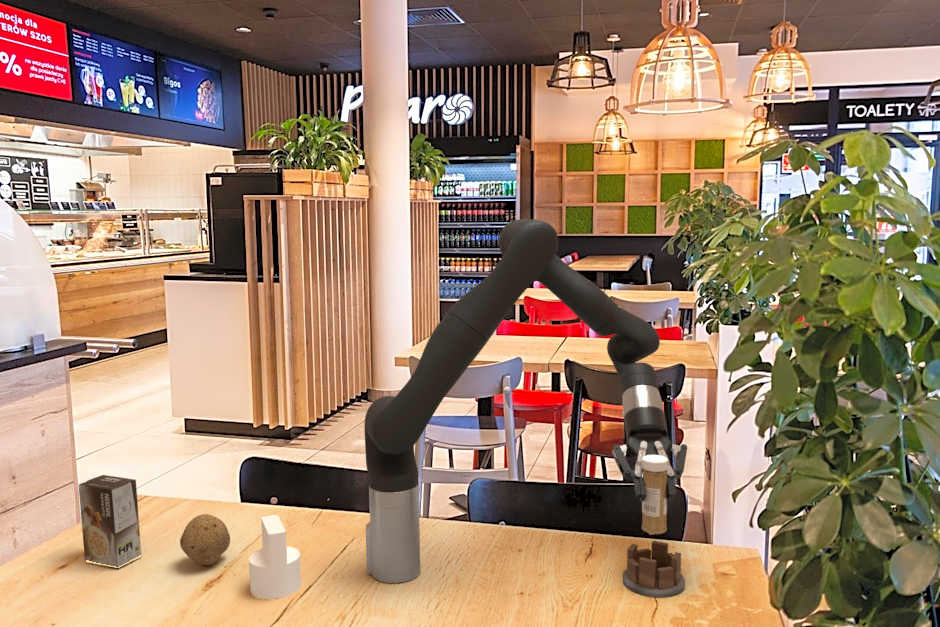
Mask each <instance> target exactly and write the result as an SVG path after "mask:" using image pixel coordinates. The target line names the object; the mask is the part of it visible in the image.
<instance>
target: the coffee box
mask: <svg viewBox="0 0 940 627" xmlns="http://www.w3.org/2000/svg"><path fill="white" fill-rule="evenodd" d="M137 489H138V488H137V479H134V478H128V477H126V478H125V477H121V476H120V477H119V476H113V475H107V474H106V475H105V474H102V475H99V476H96V477H93V478H91V479H88V480H87V481H85V482H81V483H80V484H79V483H78V495H79V504H80V505H79V506H80V517H81V529H82V541H83V542H82V543H83V553H84V561H85V560H89V561H92V562H96V563H101V564H106V565H111V566H116V567H119V566H121V565H123V564H125V563H127V562H129V561H130V560H132V559H134V558H136V557H138V556H139V555H141V556H142V547H141V534H140V531H141V530H140V520H139V519H140V518H139V507H138V506H139V505H138V504H139V503H138V491H137Z"/></svg>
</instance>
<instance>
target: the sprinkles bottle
mask: <svg viewBox="0 0 940 627" xmlns="http://www.w3.org/2000/svg"><path fill="white" fill-rule="evenodd" d="M668 459H669V458H668ZM668 459H667V458H666V457H664V456H661V455H646V456H644V457H643V458H642V468H643V469H642V477H643V480H644V487H645V493H646V498H645V501H641V512H642V513H641V514H642V516H641V517H642V518H641V520H642V521H641V530H642V531H643V532H645V533H646V534H647V533H648V534H651V535H661V534H664V533H666V532H667V530H668V527H667V513H668V500H667V469H668Z"/></svg>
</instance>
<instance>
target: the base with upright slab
mask: <svg viewBox="0 0 940 627" xmlns="http://www.w3.org/2000/svg"><path fill="white" fill-rule="evenodd" d="M260 521H261V538H262V539H261V542H262V548H261V549H258V550H256V551H254V552H253V553H252V554H250V556H249V558H248V569H249V585H250V587H249V588H250V594H251V593H252V594H253V595H255V596H256V597H259V598H264V599H275V600H277V599H276V598H281V599H283V598H282V597H285V598H287V597H286V596H288V597H290V596H289V595H291V594H293V593H295V592H296V591H297V590H298V589H299V588H300V587H301V588H302V570H301V567H302V566H301V553H300V550H299V549H297V548H295V547H293V546H288V545H287V530H286V529H285V527H284V524H283V522H282V521H281V519H280V517H279V515H278V514H273V515H266V516H262V517H261V518H260ZM301 588H300V589H301ZM300 589H299V590H300ZM299 590H298V591H299ZM296 593H297V592H296ZM296 593H295V594H296ZM252 594H251V595H252ZM253 595H252V596H253ZM293 595H294V594H293ZM291 596H292V595H291ZM256 597H255V598H256ZM259 598H258V599H259ZM264 599H263V600H264Z"/></svg>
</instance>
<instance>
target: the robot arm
mask: <svg viewBox="0 0 940 627" xmlns="http://www.w3.org/2000/svg"><path fill="white" fill-rule="evenodd" d="M498 247H499V251H500V254H501V255H502V256H501V258H500V259H499V261H498V262H497V264H496V265H495V267H494V268H493V269H492V270H491V272H489V274H488V275H487V276H486V277H485V278H483V279H482V280H481V281H480V282H479V283H478V284H476V285H475V286H474V287H473V288H472V289H470V290H469V291H467V292H466V293H465V294H464V295H463V296H461V297H460V298H459V299H458V300H457V301H456V302H455V303H454V304H453V305H452V306H451V307H450V308H449V310H448V311H447V313H446V314H445V315H444V316H443V317H442V319H441V320H440V322H439V323H438V324H437V326H436V327H435V328H434V330H433V331H432V332H431V335H430V336H429V338H428V340H427V342H426V345H425V347H424V349H423V352H422V354H421V357H420V358H419V361H418V364H417V366H416V368H415V370H414V372H413V373H412V375H411V377H410V378H409V380H408V381H407V382H406V383H405V385H404V386H403V387H402V388H401V389H400V390H399V392H398V393H397V394H396V396H393V395H387V396H386V395H385V396H382V397H379V398H377V399H376V400H375V401H373V402H372V403H371V404H370V406H369V407H368V408H367V411H366V413H365V418H364V444H365V445H364V448H365V449H364V450H365V464H366V471H367V477H368V499H369V500H368V501H369V502H368V503H369V504H368V505H369V522H367V523H366V525H365V548H366V549H365V551H366V554H365V555H366V556H365V557H366V574H368V575H371V577H372V578H373V579H375V580H376V581H378V582H381V583H382V582H383V583H388V584H399V583H404V582H408V581H411V580H413V579H415V578H417V577H418V576H419V575H420V574H421V536H420V533H421V532H420V531H421V530H420V527H421V526H420V491H419V489H420V488H419V487H420V485H419V470H418V465H417V460H416V457H415V456H416V455H415V444H416V443H417V442H418V440H419V439H420V438H421V436H422V435H423V432H424V431H425V429H426V428H427V427H428V425H429V423H430V422H431V419H432V417H433V416H434V414H435V413H436V411H437V409H438V407H440V405H441V403H442V401H443V400H444V399H445V397H446V396H447V394H448V393H449V391H451V390H452V389H453V387H454V386H455V385H456V383H457V382H458V380H460V378H461V377H462V375H463V374H464V373H465V372H466V370H467V369H468V368H469V366H470V365H471V364H472V362H473V361H474V360H475V359H476V358H477V356H478V355H479V354H480V352H481V351H482V350H483V349H484V347H485V346H486V344H487V343H488V342H489V340H490V339H491V337H492V336H493V335H494V333H495V332H496V330H497V329H498V327H499V326H500V325H501V323H502V322H503V321H504V319H505V318H506V316H508V314H509V312H510V311H511V310H512V308H513V306H514V305H515V304H516V303H517V301H518V300H519V299H520V297H521V296H522V295H523V294H524V292H526V290H527V289H528V288H529V287H530V286H531V285H532V283H533V282H534V281H535V280H536V281H538V282H539V283H540V284H541V285H543V286H544V287H545V288H546V289H547V290H549V291H550V292H551V293H552V294H553V295H555V296H556V297H557V298H558V299H559V300H560V301H561V302H562V303H563V304H564V305H565V306H566V307H567V308H568V309H569V310H570V311H571V312H573V313H574V315H576V316H577V317H578V318H579V319H580V320H581V321H582V322H583V323H585V325H587V326H588V328H589V329H591V330H592V331H593V333H595V334H596V335H598V336H601V337H608V336H611V337H609V340H608V341H607V345H606V349H607V350H606V351H607V356H609V359H610V361H611V363H612V364H613V367H614V369H615V371H616V374H617V376H618V378H619V381H620V389H621V395H622V396H621V397H622V417H623V421H624V426H625V434H626V443H625V444H622V445H619V444H615V445H613V449H612V452H611V454H612V457H613V459H614V461H615V464H616V466H617V467H618V469H619V472H620V474H621V476H622V478H623V479H624V480H631V481H632V482H633V485H634V493H635V497H636V498H638V499H639V501H640V502H642V501H645V498H646V493H645V487H644V480H643V470H642V469H643V468H642V458H643V457H644V456H646V455H661V456H664V457H666V458H667V459H668V469H667V502H671V501H672V502H673V500H674V498H675V497H676V494H677V486H676V482H675V480H676V479H677V480H680V479H682V475H683V473H684V471H685V466H686V465H685V464H686V458H687V452H688V446H687V445H686V444H684V443H682V444H681V445H678V444H673V443H672V440H671V439H670V438H669V434H668V428H667V422H666V416H665V410H664V404H663V400H662V397H661V394H660V390H659V384H658V379H657V377H658V376H657V374H656V370H655V368H654V367H653V366H652V365H651V364H649V363H647V362H639V361H641V360H643V359H645V358H647V357H650V356H651V355H653V354H655V353H656V352H657V351H658V350H659V347H660V341H661V340H660V336H659V334H658V331H657V330H656V329H655V327H653V325H652V324H650V323H649V322H648V321H647V320H644V319H643V318H641V317H639V316H637V315H636V314H634V313H631V312H629V311H628V310H626V309H625V308H622V307H620V306H619V305H618V304H617V303H616V302H615V301H614V300H613V299H612V298H611V297H610V296H609V295H608V294H607V293H606V292H605V291H604V290H602V289H601V288H600V287H598V285H597V284H595V283H594V282H592V281H591V280H589V279H588V278H587V277H585V276H584V275H582V274H581V273H580V272H578V271H576V270H575V269H574V268H572V267H571V266H569V264H567V263H566V262H564V260H562V258H560V256H558V255H557V252H558V249H559V237H558V233H557V231H556V229H555V228H554V226H553V225H552V224H550V223H548V222H547V221H544V220H541V219H530V218H529V219H528V218H520V219H514V220H512V221H510V222H508V223H506V224H505V226H503V227H502V229H501V230H500V233H499V237H498ZM670 452H673V456H674V457H675V458H676V464H675V469H673V468H672V466H671V462H670V460H669V458H668V455H669V453H670ZM627 453H628V454H629V455H630V456H631V457H632V458H633V459H634V460H635V464H634V465H635V466H634V469H632V468H631V466H630V464H629V462H628V461H627V458H626V455H627Z"/></svg>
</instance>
